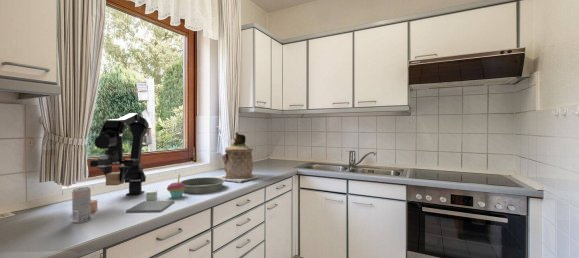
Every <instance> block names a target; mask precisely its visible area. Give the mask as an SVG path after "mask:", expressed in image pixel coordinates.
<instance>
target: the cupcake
mask: <svg viewBox="0 0 579 258" xmlns="http://www.w3.org/2000/svg"><path fill="white" fill-rule="evenodd" d="M180 177H181V173H179V174H178V178H177V182H171V184H168V186H167V187H166V190H167V192H169V193H170V196H171V198H172V199H173V198H175V199H177V198H182V196H183V193H184V192H183V191H184V190H185V187H186V186H185V185H184V184H183V183H181V181H180ZM179 182H180V183H179Z"/></svg>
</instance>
